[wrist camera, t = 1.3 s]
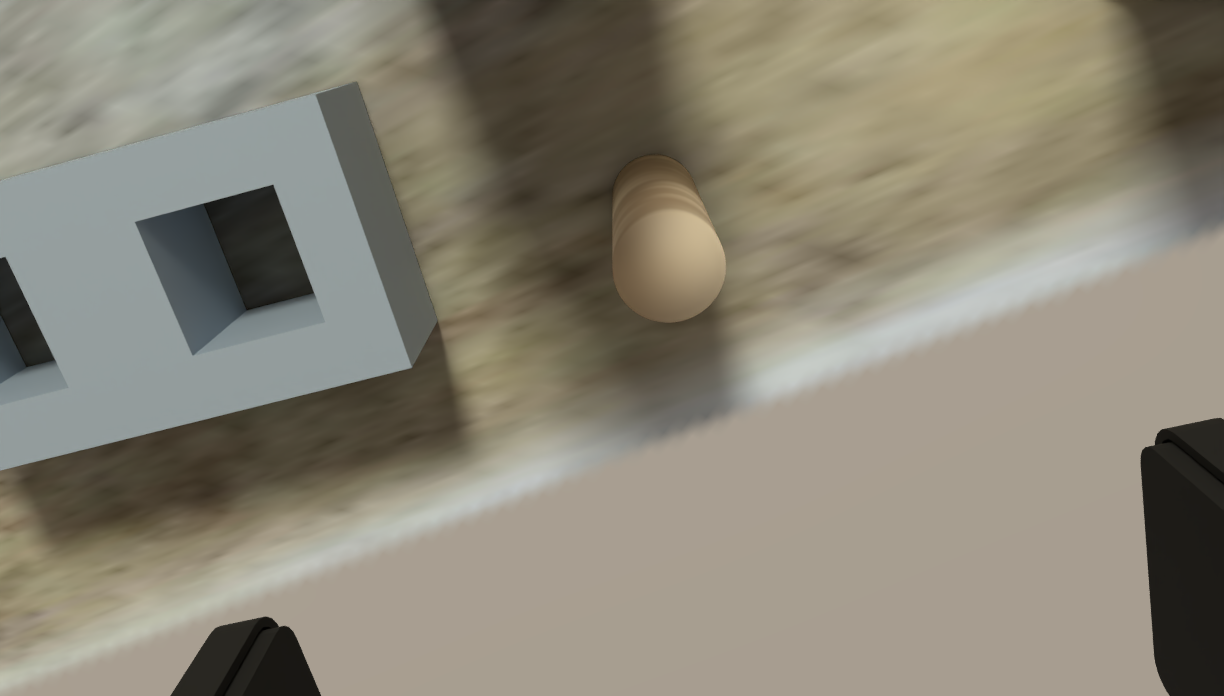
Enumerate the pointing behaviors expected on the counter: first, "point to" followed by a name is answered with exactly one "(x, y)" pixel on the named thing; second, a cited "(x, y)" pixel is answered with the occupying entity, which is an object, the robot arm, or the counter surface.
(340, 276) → the hole block
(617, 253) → the peg
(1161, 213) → the counter surface
